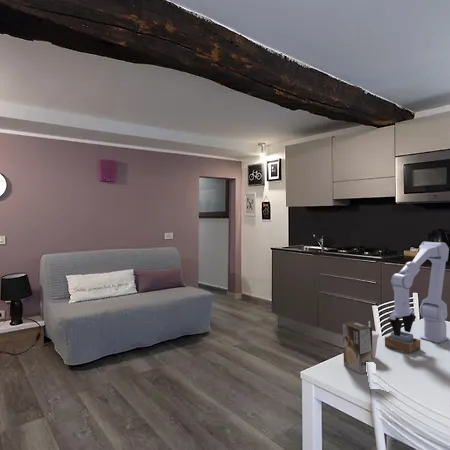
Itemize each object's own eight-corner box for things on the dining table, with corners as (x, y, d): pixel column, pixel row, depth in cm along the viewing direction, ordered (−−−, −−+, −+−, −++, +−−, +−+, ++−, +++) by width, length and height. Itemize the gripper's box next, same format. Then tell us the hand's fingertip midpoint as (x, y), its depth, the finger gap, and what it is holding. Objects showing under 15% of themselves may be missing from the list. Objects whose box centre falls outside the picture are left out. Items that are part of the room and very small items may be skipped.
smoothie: (375, 353, 144) (375, 319, 144) (381, 359, 138) (380, 324, 137) (359, 353, 145) (359, 319, 144) (364, 359, 138) (363, 324, 138)
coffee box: (374, 371, 128) (373, 327, 127) (360, 374, 125) (359, 330, 125) (355, 361, 136) (354, 320, 136) (342, 364, 134) (341, 323, 133)
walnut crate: (396, 342, 156) (396, 333, 156) (420, 349, 147) (420, 339, 147) (384, 346, 152) (384, 337, 152) (408, 354, 143) (408, 344, 143)
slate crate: (397, 342, 154) (397, 330, 154) (413, 347, 148) (413, 334, 148) (390, 345, 151) (390, 332, 151) (406, 350, 145) (406, 336, 145)
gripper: (402, 297, 156) (403, 327, 157) (382, 302, 149) (383, 334, 149) (418, 300, 150) (418, 332, 151) (398, 305, 143) (399, 339, 143)
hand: (402, 333), depth 149 cm, fingers open, 7 cm apart
